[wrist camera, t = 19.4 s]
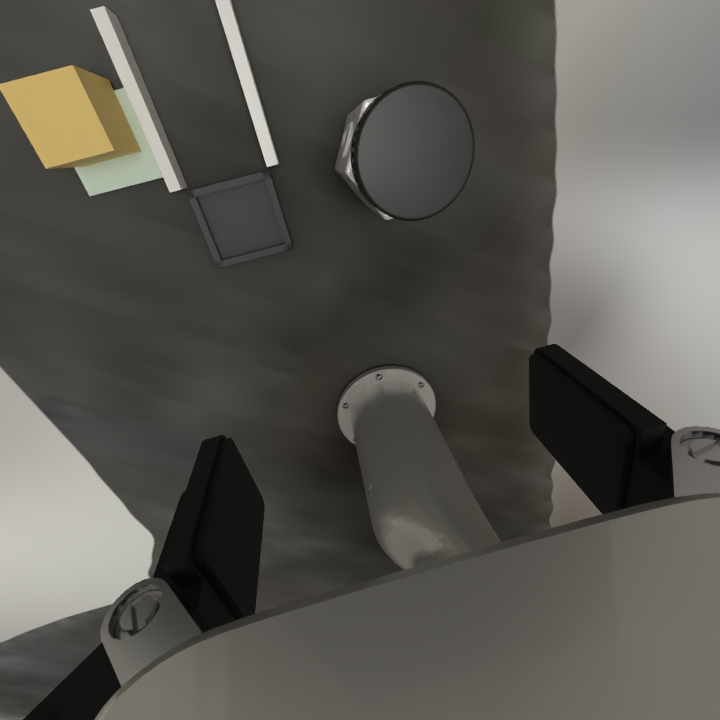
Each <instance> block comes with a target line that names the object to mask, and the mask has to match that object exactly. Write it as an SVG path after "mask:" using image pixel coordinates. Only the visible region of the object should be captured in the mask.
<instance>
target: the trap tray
mask: <svg viewBox="0 0 720 720" xmlns="http://www.w3.org/2000/svg"><path fill="white" fill-rule="evenodd" d="M186 194H187V196H188V199H189V201H190V203H191V206H192V208H193V211H194V213H195V215H196V218H197V220H198V223H199V225H200V227H201V230H202V232H203V235H204V237H205V239H206V242H207V244H208V246H209V249H210V251H211V254H212V256H213V258H214V261H215V263H216V266H217V268H222V267H226V266H230V265H233V264H237V263H241V262H245V261H248V260H252V259H256V258H260V257H263V256H267V255H271V254H275V253H279V252H282V251H286V250H290V249H293V244H292V241H291V238H290V234H289V231H288V228H287V225H286V221H285V218H284V215H283V212H282V208H281V205H280V202H279V199H278V195H277V192H276V189H275V186H274V182H273V179H272V176H271V173H270V170H266V171H262V172H259V173H255V174H251V175H247V176H243V177H239V178H236V179H232V180H228V181H224V182H220V183H216V184H212V185H209V186H205V187H201V188H197V189H193V190H189V191H186Z"/></svg>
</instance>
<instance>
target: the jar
mask: <svg viewBox="0 0 720 720" xmlns="http://www.w3.org/2000/svg"><path fill="white" fill-rule="evenodd" d="M474 151H475V141H474V133H473V128H472V124H471V121H470V118H469V116H468V114H467V112H466V110H465V108H464V107H463V105H462V104H461V102H460V101H459V100H458V99H457V98H456V97H455V96H454V95H453V94H452V93H451V92H449V91H448V90H446V89H445V88H443V87H441V86H439V85H437V84H434V83H430V82H424V81H414V82H408V83H404V84H401V85H398V86H395V87H391V88H390V89H389V91H387V90H386V91H385V92H383V93H382V94H380V95H379V96H378V97H374V98H370V99H366V100H364V101H363V102H362V103H361V104H359V105H358V106H357V107H356V108H355V109H353V110H352V111H351V112H350V113H349V114H348V115H347V119H346V123H345V127H344V131H343V135H342V140H341V144H340V148H339V152H338V156H337V160H336V164H335V170H336V172H337V173H338V174H339V175H340V176H341V177H342V178H343V180H344V181H345V182H346V183H347V184H348V185H349V187H350V188H351V189H352V190H353V191H354V192H355V193H356V195H357V196H358V197H359V198H360V199H361V200H362V201H363V203H364V204H365V205H366V206H367V207H369V208H370V209H371V210H373V211H374V212H376V213H377V214H378V215H380V216H381V217H383V218H384V219H386V220H389V219H393V218H395V219H399V220H404V221H417V220H423V219H426V218H429V217H432V216H434V215H436V214H438V213H440V212H441V211H443V210H444V209H445V208H447V207H448V206H449V205H450V204H451V203H452V202H453V201H454V200H455V199H456V198H457V196H458V195H459V194H460V192H461V191H462V189H463V188H464V186H465V184H466V182H467V180H468V178H469V175H470V172H471V169H472V165H473V160H474Z"/></svg>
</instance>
